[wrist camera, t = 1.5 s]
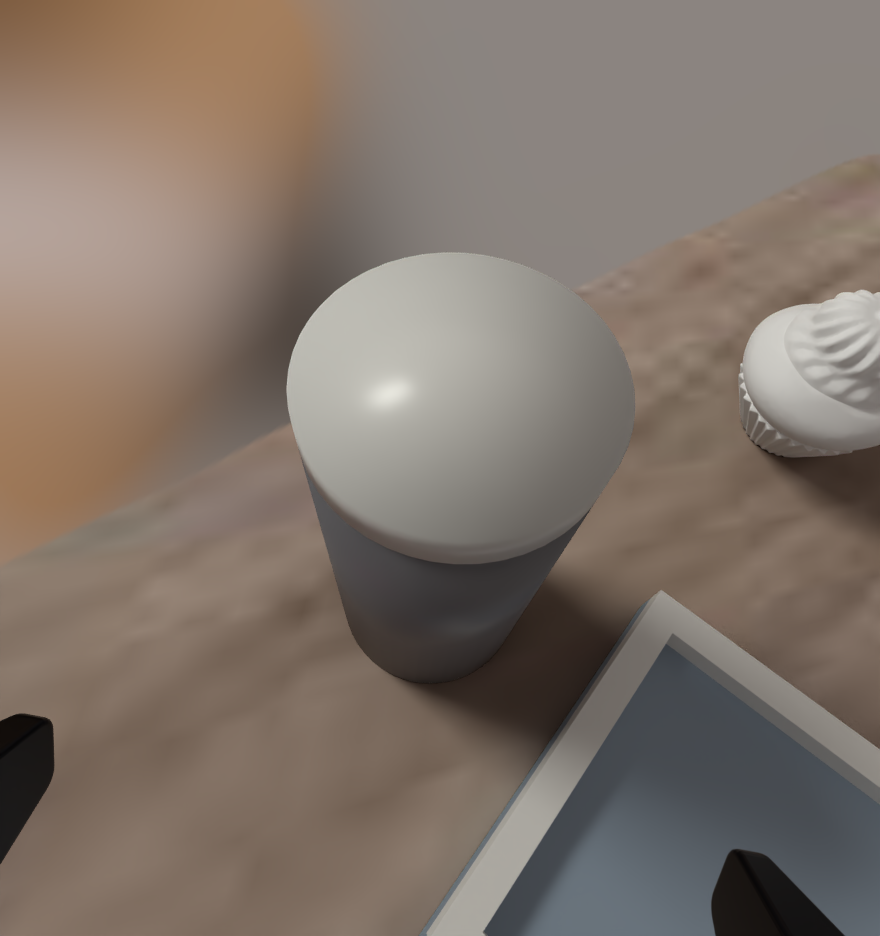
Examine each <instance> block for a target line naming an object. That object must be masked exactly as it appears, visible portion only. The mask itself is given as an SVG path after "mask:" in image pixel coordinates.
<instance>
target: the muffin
mask: <svg viewBox="0 0 880 936" xmlns="http://www.w3.org/2000/svg"><path fill="white" fill-rule="evenodd" d="M739 400H740V416H741V422H742V423H743V428H745V429H746V434H747V435H749V436H750V439H751V440H752V441H754V442H755V444H756V445H760V447H761V449H766V450H767V451H768V452H769V453H774V454H775V455H777V456H780V455H782V456H784V457H792V458H794V457H815V456H834V455H839V454H847V453H852V451H853V450H860V449H865V448H870V447H874V446H877V445H880V292H878V293H875V294H872V293H870V292H868V291H866V290H859V291H856V292H855V293H852V292H843V293H840V294H838V295H837V296H836V297H835V298H834V299H831V300H827V301H825V302H824V303H820V304H803V305H797V306H793V307H789V308H786V309H783V310H781V311H778V312H776V313H774V314H772V315H770V316H769V317H767V318H766V319H765V320H763V321H762V322H761V323H760V324H759V325H758V326H757V327H756V329H755V330H754V332H753V333H752V335H751V337H750V339H749V341H748V343H747V346H746V349H745V352H744V357H743V363H742V364H740V374H739Z"/></svg>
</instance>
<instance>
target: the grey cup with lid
mask: <svg viewBox="0 0 880 936" xmlns="http://www.w3.org/2000/svg"><path fill="white" fill-rule="evenodd" d="M287 400H288V410H289V415H290V419H291V423H292V427H293V431H294V434H295V438H296V441H297V445H298V448H299V452H300V456H301V459H302V463H303V466H304V470H305V473H306V477H307V480H308V484H309V487H310V491H311V494H312V498H313V501H314V505H315V508H316V512H317V515H318V519H319V522H320V526H321V529H322V533H323V536H324V540H325V543H326V547H327V550H328V554H329V558H330V561H331V565H332V568H333V572H334V575H335V579H336V582H337V586H338V589H339V593H340V596H341V600H342V603H343V607H344V610H345V614H346V617H347V621H348V624H349V627H350V629H351V632H352V634H353V636H354V638H355V640H356V642H357V643H358V645H359V646H360V648H361V649H362V650H363V652H364V653H365V654H366V655H367V656H368V657H369V658H370V659H371V660H372V661H373V662H374V663H375V664H377V665H378V666H379V667H381V668H382V669H383V670H385V671H387V672H389V673H390V674H392V675H394V676H397V677H399V678H402V679H405V680H409V681H413V682H419V683H442V682H448V681H453V680H456V679H459V678H462V677H464V676H466V675H468V674H471V673H473V672H474V671H476V670H477V669H479V668H480V667H482V666H483V665H484V664H485V663H487V662H488V661H489V660H490V659H491V658H492V657H493V656H494V655H495V653H496V652H497V651H498V650H499V648H500V647H501V645H502V644H503V642H504V641H505V639H506V638H507V636H508V635H509V633H510V632H511V630H512V629H513V627H514V625H515V624H516V622H517V621H518V619H519V618H520V616H521V615H522V613H523V612H524V610H525V609H526V607H527V606H528V604H529V603H530V601H531V600H532V598H533V596H534V595H535V593H536V592H537V590H538V589H539V587H540V586H541V584H542V583H543V581H544V580H545V578H546V577H547V575H548V574H549V572H550V570H551V569H552V567H553V566H554V564H555V563H556V561H557V560H558V558H559V557H560V555H561V554H562V552H563V551H564V549H565V548H566V546H567V545H568V543H569V541H570V540H571V538H572V537H573V535H574V534H575V532H576V531H577V529H578V528H579V526H580V525H581V523H582V522H583V520H584V519H585V517H586V515H587V514H588V512H589V511H590V509H591V508H592V506H593V505H594V503H595V502H596V500H597V499H598V497H599V496H600V494H601V493H602V491H603V490H604V488H605V486H606V485H607V483H608V482H609V480H610V479H611V477H612V476H613V474H614V473H615V471H616V470H617V468H618V467H619V465H620V463H621V461H622V459H623V457H624V454H625V452H626V450H627V448H628V445H629V442H630V438H631V434H632V430H633V426H634V416H635V394H634V386H633V381H632V376H631V372H630V369H629V366H628V363H627V360H626V358H625V355H624V353H623V351H622V349H621V347H620V345H619V343H618V341H617V340H616V338H615V336H614V335H613V333H612V332H611V330H610V329H609V328H608V326H607V325H606V323H605V322H604V321H603V320H602V318H601V317H600V316H599V315H598V314H597V313H596V312H595V311H594V310H593V309H592V308H591V306H589V305H588V304H587V303H586V302H585V301H584V300H582V299H581V298H580V297H579V296H578V295H577V294H575V293H574V292H573V291H571V290H570V289H568V288H567V287H565V286H564V285H562V284H561V283H560V282H558V281H556V280H554V279H552V278H550V277H549V276H547V275H545V274H543V273H541V272H538V271H536V270H534V269H531V268H529V267H527V266H525V265H522V264H518V263H515V262H512V261H509V260H505V259H501V258H496V257H491V256H487V255H480V254H471V253H446V252H445V253H432V254H423V255H417V256H412V257H406V258H403V259H399V260H395V261H392V262H388V263H385V264H383V265H381V266H378V267H376V268H373V269H371V270H369V271H367V272H365V273H363V274H361V275H359V276H358V277H356V278H354V279H352V280H350V281H349V282H348V283H346V284H345V285H343V286H342V287H341V288H339V289H338V290H336V291H335V292H334V293H333V294H332V295H331V296H330V297H329V298H328V299H326V301H324V303H322V304H321V305H320V307H319V308H318V309H317V310H316V311H315V313H314V314H313V315H312V316H311V318H310V319H309V321H308V322H307V324H306V326H305V327H304V329H303V331H302V332H301V334H300V336H299V338H298V341H297V343H296V345H295V348H294V350H293V353H292V357H291V361H290V365H289V369H288V379H287Z"/></svg>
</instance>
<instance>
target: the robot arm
mask: <svg viewBox="0 0 880 936" xmlns="http://www.w3.org/2000/svg"><path fill="white" fill-rule="evenodd" d="M53 772H54V737H53V724H52V722H51V721H50V719H47V718H45V717H40V716H35V715H30V714H16V715H13V716H10V717H8V718H6V719H4V720H1V721H0V864H1V863H2V861H3V859H4V858H5V856H6V854H7V853H8V851H9V850H10V848H11V846H12V845H13V843H14V842H15V840H16V838H17V837H18V835H19V833H20V832H21V830H22V829H23V827H24V825H25V824H26V822H27V820H28V819H29V817H30V816H31V814H32V812H33V811H34V809H35V807H36V806H37V804H38V803H39V801H40V799H41V798H42V796H43V794H44V793H45V791H46V790H47V788H48V786H49V784H50V782H51V779H52V776H53ZM711 914H712V920H713V926H714V931H715V936H845V935H844V934H843V933H842V932H841V931H840V930H839V929H838V928H837V927H836V926H835V925H834V924H833V923H832V922H831V921H830V920H829V919H828V918H827V917H826V916H825V914H824V913H823V912H822V911H821V910H820V909H819V908H818V907H817V906H816V905H815V904H814V903H813V902H812V901H811V900H810V899H809V898H808V897H807V896H806V895H805V894H804V893H803V892H802V891H801V890H800V889H799V888H798V887H797V886H796V885H795V884H794V883H793V882H792V881H791V879H790V878H789V877H788V876H787V875H786V874H785V873H784V872H783V871H782V870H781V869H780V868H779V867H778V866H777V865H776V864H775V863H774V862H773V861H772V860H771V859H770V858H769V857H767V856H766V855H764V854H762V853H758V852H753V851H748V850H743V849H732V850H731V851H730V852H729V853H728V855H727V857H726V859H725V862H724V865H723V867H722V870H721V872H720V875H719V878H718V880H717V883H716V885H715V888H714V890H713V894H712V899H711Z"/></svg>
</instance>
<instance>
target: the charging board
mask: <svg viewBox="0 0 880 936" xmlns="http://www.w3.org/2000/svg"><path fill="white" fill-rule="evenodd" d="M732 849H743V850H748V851H753V852H758V853H762V854H764V855H766V856H767V857H769V858H770V859H771V860H772V861H773V862H774V863H775V864H776V865H777V866H778V867H779V868H780V869H781V870H782V871H783V872H784V873H785V874H786V875H787V876H788V877H789V878H790V879H791V881H792V882H793V883H794V884H795V885H796V886H797V887H798V888H799V889H800V890H801V891H802V892H803V893H804V894H805V895H806V896H807V897H808V898H809V899H810V900H811V901H812V902H813V903H814V904H815V905H816V906H817V907H818V908H819V909H820V910H821V911H822V912H823V913H824V914H825V916H826V917H827V918H828V919H829V920H830V921H831V922H832V923H833V924H834V925H835V926H836V927H837V928H838V929H839V930H840V931H841V932H842V933H843V934H844V935H845V936H880V749H878V748H877V747H876V746H874V745H873V744H872V743H870V742H869V741H867V740H866V739H865V738H863V737H862V736H861V735H859V734H858V733H857V732H855V731H854V730H852V729H851V728H850V727H848V726H847V725H846V724H844V723H843V722H841V721H840V720H839V719H837V718H836V717H835V716H833V715H832V714H830V713H829V712H828V711H826V710H825V709H824V708H822V707H821V706H820V705H818V704H817V703H815V702H814V701H813V700H811V699H810V698H809V697H807V696H806V695H804V694H803V693H802V692H800V691H799V690H798V689H796V688H795V687H794V686H792V685H791V684H789V683H788V682H787V681H785V680H784V679H783V678H781V677H780V676H778V675H777V674H776V673H774V672H773V671H772V670H770V669H769V668H768V667H766V666H765V665H763V664H762V663H761V662H759V661H758V660H757V659H755V658H754V657H752V656H751V655H750V654H748V653H747V652H746V651H744V650H743V649H741V648H740V647H739V646H737V645H736V644H735V643H733V642H732V641H731V640H729V639H728V638H726V637H725V636H724V635H722V634H721V633H720V632H718V631H717V630H715V629H714V628H713V627H711V626H710V625H709V624H707V623H706V622H705V621H703V620H702V619H700V618H699V617H698V616H696V615H695V614H694V613H692V612H691V611H689V610H688V609H687V608H685V607H684V606H683V605H681V604H680V603H678V602H677V601H676V600H674V599H673V598H672V597H670V596H669V595H668V594H666V593H665V592H663V591H662V590H660V591H659V592H658V593H657V594H655V595H654V596H653V597H652V598H650V599H649V600H648V601H647V602H646V603H644V604H643V605H642V606H641V607H640V608H639V610H638V611H637V613H636V614H635V616H634V617H633V619H632V620H631V622H630V623H629V625H628V626H627V628H626V629H625V631H624V632H623V633H622V635H621V636H620V638H619V639H618V641H617V642H616V644H615V645H614V647H613V648H612V650H611V651H610V653H609V654H608V656H607V657H606V659H605V660H604V662H603V663H602V665H601V666H600V668H599V669H598V671H597V672H596V674H595V675H594V677H593V678H592V679H591V681H590V682H589V684H588V685H587V687H586V688H585V690H584V691H583V693H582V694H581V696H580V697H579V699H578V700H577V702H576V703H575V705H574V706H573V708H572V709H571V711H570V712H569V714H568V715H567V717H566V718H565V720H564V721H563V723H562V724H561V725H560V727H559V728H558V730H557V731H556V733H555V734H554V736H553V737H552V739H551V740H550V742H549V743H548V745H547V746H546V748H545V749H544V751H543V752H542V754H541V755H540V757H539V758H538V760H537V761H536V763H535V764H534V766H533V767H532V769H531V770H530V772H529V773H528V774H527V776H526V777H525V779H524V780H523V782H522V783H521V785H520V786H519V788H518V789H517V791H516V792H515V794H514V795H513V797H512V798H511V800H510V801H509V803H508V804H507V806H506V807H505V809H504V810H503V812H502V813H501V815H500V816H499V818H498V819H497V820H496V822H495V823H494V825H493V826H492V828H491V829H490V831H489V832H488V834H487V835H486V837H485V838H484V840H483V841H482V843H481V844H480V846H479V847H478V849H477V850H476V852H475V853H474V855H473V856H472V858H471V859H470V861H469V862H468V864H467V865H466V866H465V868H464V869H463V871H462V872H461V874H460V875H459V877H458V878H457V880H456V881H455V883H454V884H453V886H452V887H451V889H450V890H449V892H448V893H447V895H446V896H445V898H444V899H443V901H442V902H441V904H440V905H439V907H438V908H437V910H436V911H435V913H434V914H433V915H432V917H431V918H430V920H429V921H428V923H427V924H426V926H425V927H424V929H423V930H422V932H421V933H420V935H419V936H715V931H714V926H713V920H712V914H711V899H712V894H713V890H714V888H715V885H716V883H717V880H718V878H719V875H720V872H721V870H722V867H723V865H724V862H725V859H726V857H727V855H728V853H729V852H730V851H731V850H732Z"/></svg>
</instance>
